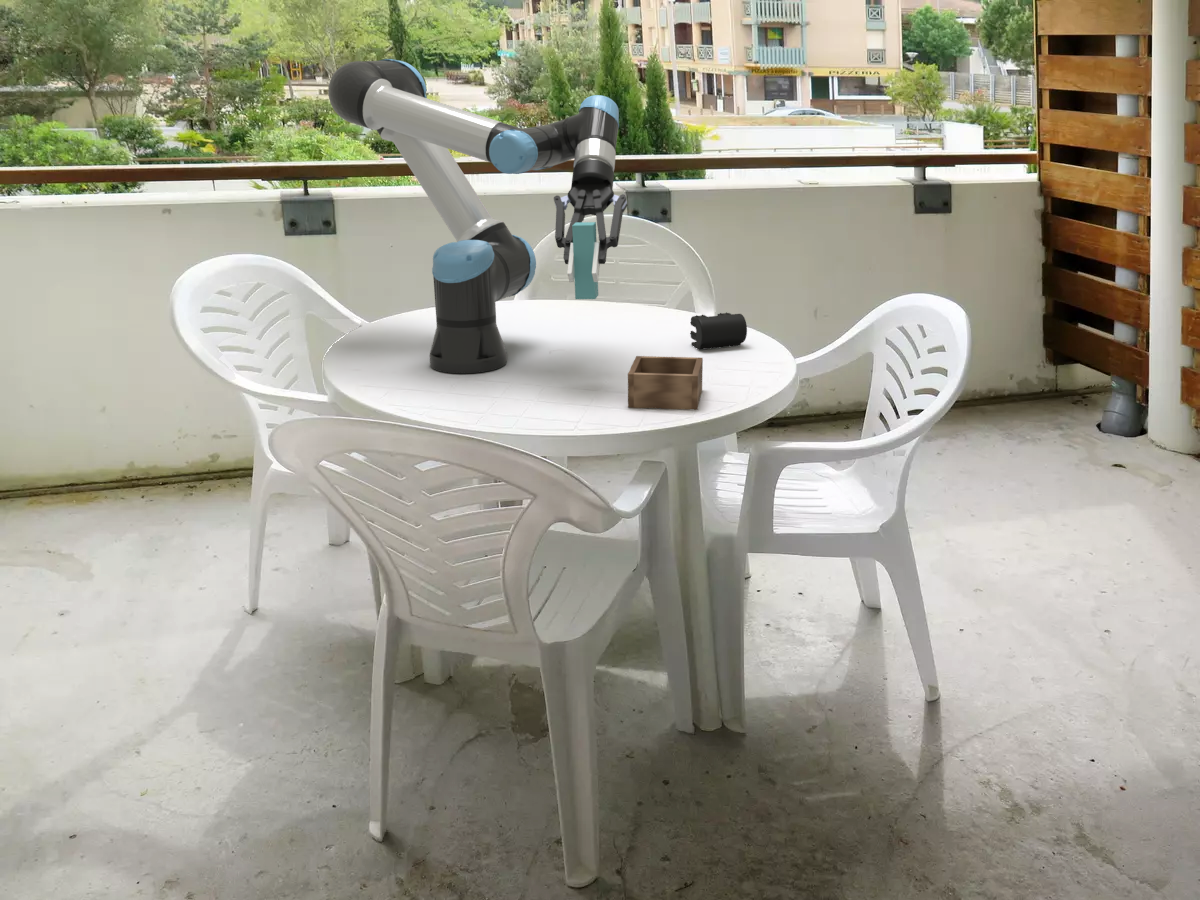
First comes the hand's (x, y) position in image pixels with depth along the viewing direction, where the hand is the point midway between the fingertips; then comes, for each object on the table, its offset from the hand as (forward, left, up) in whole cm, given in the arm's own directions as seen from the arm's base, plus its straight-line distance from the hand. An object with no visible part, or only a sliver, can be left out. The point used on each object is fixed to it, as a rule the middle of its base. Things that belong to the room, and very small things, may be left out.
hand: (582, 277), depth 204 cm
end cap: (+22, +35, -21) cm, 47 cm away
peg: (0, +4, -4) cm, 6 cm away
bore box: (+15, -2, -21) cm, 26 cm away
